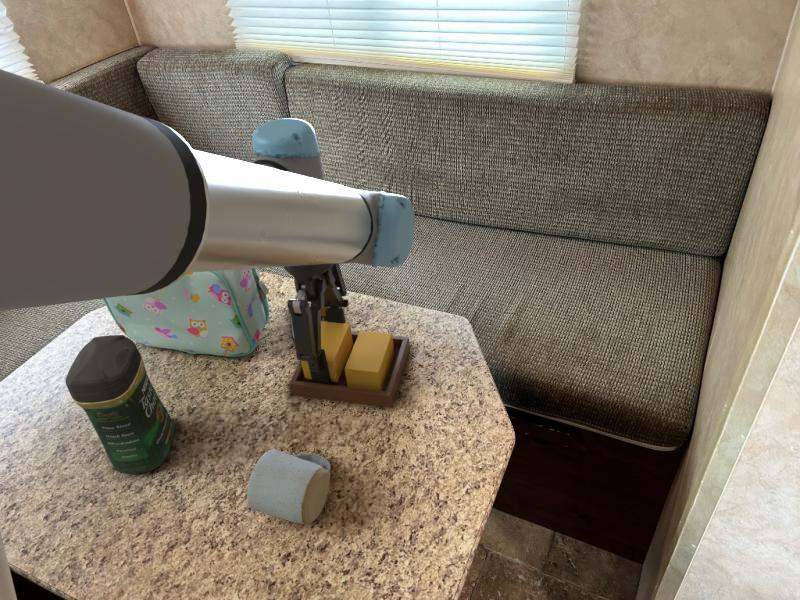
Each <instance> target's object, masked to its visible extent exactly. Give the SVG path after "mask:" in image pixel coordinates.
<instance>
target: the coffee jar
mask: <svg viewBox="0 0 800 600" xmlns="http://www.w3.org/2000/svg"><path fill="white" fill-rule="evenodd" d="M64 382H65V385H66V387H67V390H68V392H69V394H70V397H71V399H72V401H74V403H75V404H76V405H77V406H79V407H80V408H81V409H82V410H83V411H84V413H85V414H86V415H87V417H88V419H89V421H90V423H91V425H92V427H93V428H94V431H95V432H96V435H97V436H98V438H99V440H100V442H101V445H102V447H103V450H104V451H105V454H106V455H107V457H108V459H109V462H110V463H111V465H112V467H113V468H114V470H115V471H117V472H118V473H122V474H124V475H125V474H127V475H136V474H144V473H146V472H151V471H153V470H155V469H157V468H158V467H160V466H161V465H163V463H164V462H165V461H166V459H167V457H168V454H169V452H170V451H171V447H172V444H173V442H174V436H175V432H176V431H175V430H176V426H175V422H174V421H173V419H172V417H171V415H170V413H169V411H168V410H167V408H166V406H165V405H164V403H163V402H162V400H161V399H160V396H159V394H158V393H157V391H156V389H155V388H154V386H153V384H152V382H151V380H150V378H149V376H148V373H147V369H146V365H145V363H144V359H143V356H142V354H141V353H140V350H139V349H138V347H137V344H136V343H135V342H134V340H133V339H131V338H130V337H128V336H125V334H112V335H111V334H110V335H102V336H94V337H92V338H91V340H89V342H88V343H86V344H85V345H84V346H83V347H82V348H81V349H80V350H79V352H78V354H77V355H76V357H75V358H74V360H73V362H72V364H71V366H70V368H69V370H68V372H67V374H66V378H65V381H64Z"/></svg>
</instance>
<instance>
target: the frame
mask: <svg viewBox="0 0 800 600" xmlns="http://www.w3.org/2000/svg"><path fill="white" fill-rule="evenodd" d="M359 332H360V331H354V330H353V331H352V330H351V334H352V340H353V346H352V349H353V347H354V344H355V342H356V339H357V337H358V335H359ZM392 337H393V345H394V353H395V354H394V357H393V360H392V363H391V366H390V369H389V372H388V375H387V378H386V381H385V384H384V387H383V390H382V391H375V390H367V389H359V388H351V387H348V384H347V379H346V374H345V366H346V364H347V361H348V359H349V356H350V354H351V352H352V349H351V351H350V353H349V356H348V358H347V361H346V363H345V365H344V368H343V370H342V373H341V375H340V377H339V380H338V382H330V384H323V383H315V382H312V379H306V378H305V376H304V372H303V368H302V364H301V360H299V362H298V365H297V366H296V369H295V371H294V373H293V375H292V377H291V379H290V380H289V382H288V387H289V390H290V393H291V396H294V397H302V398H311V399H317V400H324V401H325V400H326V401H334V402H341V403H349V404H358V405H364V406H371V407H373V406H374V407H380V408H387V409H392V407H393V406H394V405H393V404H394V401H395V398H396V395H397V392H398V389H399V385H400V383H401V379H402V376H403V373H404V369H405V366H406V364H407V363H406V362H407V359H408V357H409V353H410V350H411V346H410V345H411V344H410V336H402V335H393V334H392Z"/></svg>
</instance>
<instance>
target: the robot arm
mask: <svg viewBox="0 0 800 600" xmlns="http://www.w3.org/2000/svg"><path fill="white" fill-rule="evenodd" d="M251 142H252V153H253V155H254V157H255V159H254V160H253V161H252V162H247V161H243V160H239V159H234V158H230V157H227V156H224V155H223V156H222V155H218V154H214V153H211V152H205V151H202V150H197V149H193V148H192V147H191V145H190V144H189V142H188V141H186V139H185V138H184V137H183V136H182V135H181V134H180V133H178V132H177V131H176V130H175V129H173V128H172V127H170V126H169V125H166V124H165V123H164V122H160V121H158V120H155V119H152V118H148V117H145V116H142V115H138V114H134V113H131V112H129V111H125V110H123V109H120V108H117V107H114V106H111V105H108V104H105V103H102V102H99V101H96V100H93V99H90V98H88V97H84V96H82V95H79V94H76V93H74V92H70V91H67V90H65V89H61V88H58V87H55V86H52V85H51V84H46V83H45V82H44V83H43V82H41V81H38V80H34V79H31V78H28V77H26V76H22V75H19V74H16V73H14V72H10V71H7V70H3V69H1V68H0V312H2V311H11V310H21V309H30V308H39V307H47V306H56V305H63V304H70V303H79V302H86V301H94V300H95V301H96V300H103V298H111V297H118V296H130V295H140V294H147V293H153V292H157V291H159V290H162V289H165V288H167V287H169V286H171V285H172V284H174V283H175V282H177V281H178V280H179V279H181V278H182V277H183V276H184V275H185V274H186V273H190V272H206V271H222V270H238V269H253V268H256V269H267V268H268V269H269V268H283V270H285V271H286V272H287V273H288V274H289V275H291V276H292V277H293V278H294V279H296V280H295V281H296V288H295V291H296V295H295V297H294V298H289V299H288V300H287V309H288V312H289V314H291V315H290V320H291V319H292V323H291V327H292V326H293V332H292V335H293V334H294V337H293V339H294V347H295V355H296V360H297V361H300V360H301V361H307V362H308V366H309V370H310V374H311V378H312V382H315V383H323V384H330V382H331V378H330V374H329V369H328V364H327V359H326V355H325V350H324V349H321V309H322V308H323V307H324V301H325V303H326V304H327V306H330V308H329V307H326V309H325V312H326V317H327V322H334V323H344V324H347V322H346V317H345V311H344V308H348V307H349V300H348V299H344V298H343V297H346V296H347V294H348V291H347V287H346V283H345V279H344V276H343V273H342V270H341V266H340V265H342V264H344V265H345V264H358V265H364V266H365V265H366V266H371V267H372V268H377V267H383V268H394V269H395V268H398V267H400V266H402V265H403V264H404V263H405V261H407V259H408V257H409V254H410V252H411V250H412V245H413V242H414V235H415V225H416V224H415V223H416V222H415V220H416V219H415V211H414V207H413V205H412V202H411V200H410V199H409V198H408V197H406V196H405V195H402V194H396V193H391V192H386V191H384V190H380V191H373V190H365V189H358V188H354V187H350V186H344V185H343V184H338V183H334V182H329V181H325V177H324V169H323V164H322V157H321V156H322V152H321V150H320V146H319V142H318V138H317V135H316V131H315V128H314V127H313V126H312V124H311V123H309V122H308V121H306V120H303V119H300V118H291V117H290V118H289V117H287V118H278V119H273V120H270V121H267V122H265V123H262V124H260V125H259V126H258V127H256V129H255V130H254V131H253V132H252V137H251ZM307 300H309V301H317V300H318V303H314V302H308V301H307ZM3 540H4V539H3V536H2V532H1V531H0V600H18V597H17V594H16V589H15V586H14V581H13V577H12V572H11V568H10V565H9V561H8V557H7V553H6V549H5V544H4V541H3Z"/></svg>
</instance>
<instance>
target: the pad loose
mask: <svg viewBox="0 0 800 600" xmlns="http://www.w3.org/2000/svg"><path fill="white" fill-rule="evenodd" d="M351 331H352V328H351V324H350V323H346V324H344V323H334V322H325V321H321V349H324V350H325V355H326V359H327V364H328V369H329V374H330V378H331V382H338V380H339V377H340V375H341V373H342V370H343V368H344V365H345V363H346V361H347V358H348V356H349V353H350V351H351V349H352V346H353V340H352V334H351ZM301 364H302V368H303V372H304V376H305V378H306V379H312V378H311V374H310V370H309V366H308V362H307V361H301Z"/></svg>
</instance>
